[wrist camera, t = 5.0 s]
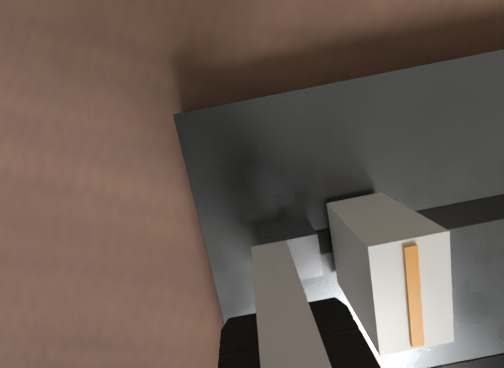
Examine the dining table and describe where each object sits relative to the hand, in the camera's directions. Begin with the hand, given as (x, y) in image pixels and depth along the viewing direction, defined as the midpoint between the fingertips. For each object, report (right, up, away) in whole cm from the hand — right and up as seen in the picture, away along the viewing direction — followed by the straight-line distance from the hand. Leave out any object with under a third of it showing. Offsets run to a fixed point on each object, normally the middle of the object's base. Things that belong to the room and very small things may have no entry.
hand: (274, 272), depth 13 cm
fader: (+4, +1, +1) cm, 4 cm away
